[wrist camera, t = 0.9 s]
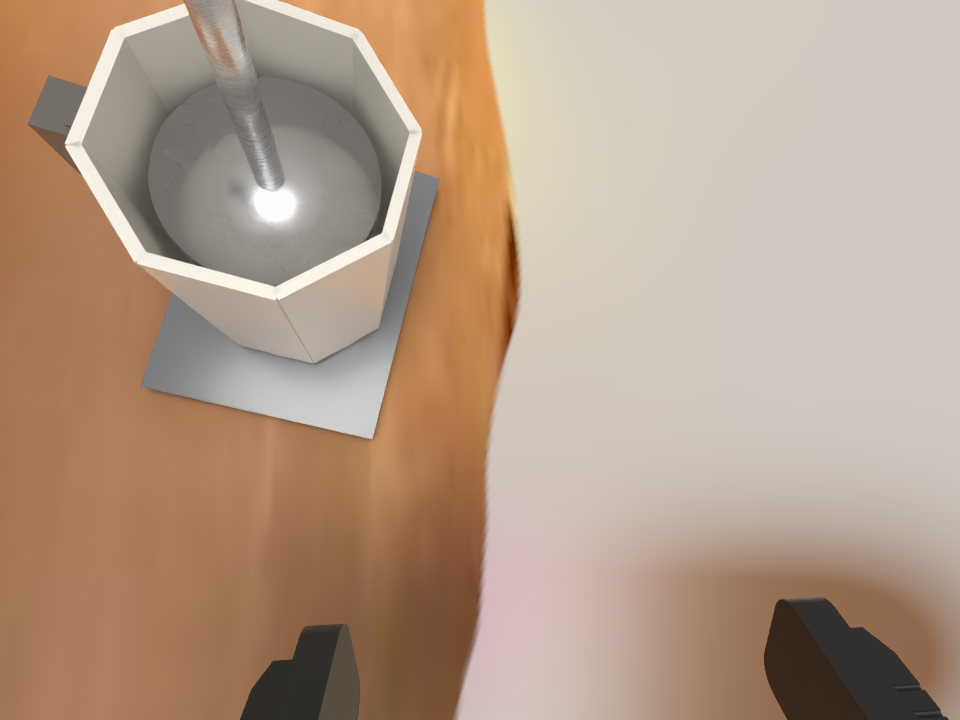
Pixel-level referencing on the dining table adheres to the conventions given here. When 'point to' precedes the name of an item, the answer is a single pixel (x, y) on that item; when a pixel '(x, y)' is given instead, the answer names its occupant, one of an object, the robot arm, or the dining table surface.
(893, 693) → the robot arm
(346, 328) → the coffee press
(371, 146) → the plunger
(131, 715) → the dining table surface
